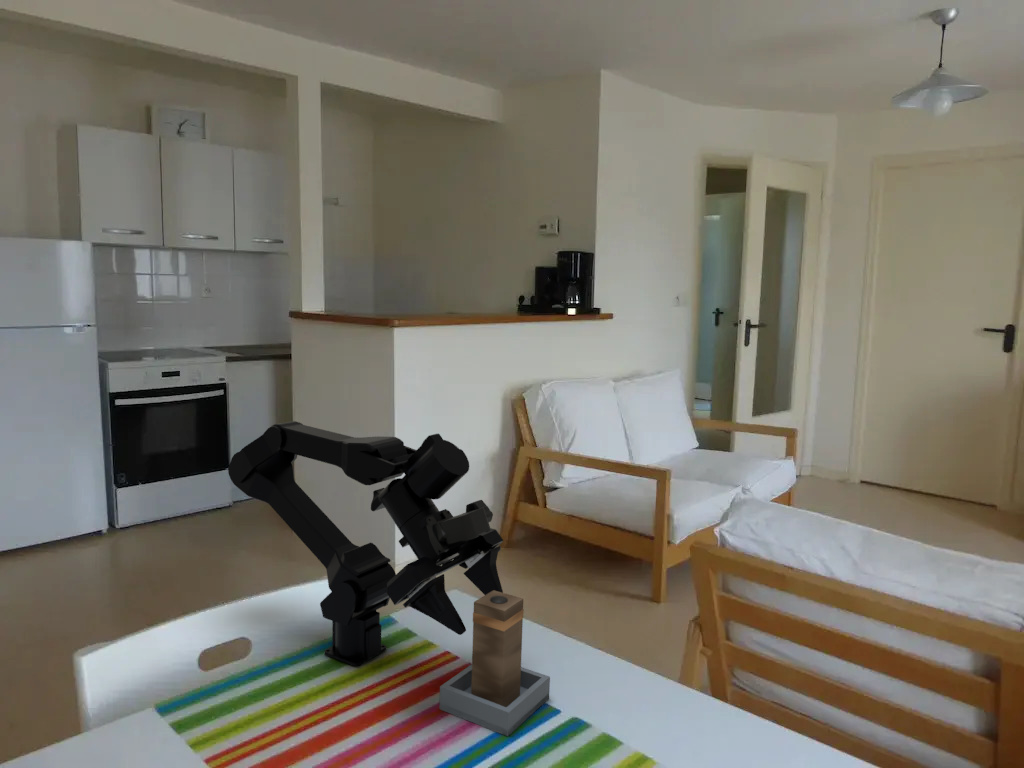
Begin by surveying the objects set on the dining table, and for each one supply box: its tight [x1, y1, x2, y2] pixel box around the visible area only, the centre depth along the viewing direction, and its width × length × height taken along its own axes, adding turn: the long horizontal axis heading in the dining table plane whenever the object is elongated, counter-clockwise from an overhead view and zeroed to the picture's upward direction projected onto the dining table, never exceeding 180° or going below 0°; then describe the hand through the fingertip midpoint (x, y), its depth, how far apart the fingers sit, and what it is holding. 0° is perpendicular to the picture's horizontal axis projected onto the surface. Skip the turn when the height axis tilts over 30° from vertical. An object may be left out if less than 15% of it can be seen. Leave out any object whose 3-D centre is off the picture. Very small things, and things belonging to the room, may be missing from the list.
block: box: [471, 590, 525, 707], centre depth 94 cm, size 5×5×13 cm
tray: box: [439, 663, 551, 737], centre depth 95 cm, size 10×10×3 cm
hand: (484, 619), depth 95 cm, fingers open, 9 cm apart
